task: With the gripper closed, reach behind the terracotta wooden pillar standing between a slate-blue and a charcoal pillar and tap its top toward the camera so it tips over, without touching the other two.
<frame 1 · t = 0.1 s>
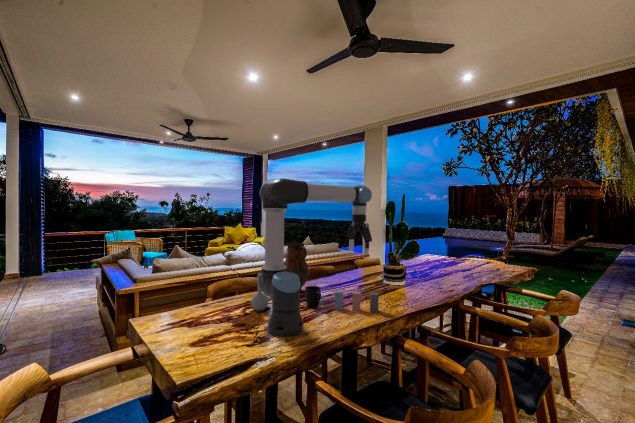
hand: (358, 252, 163), 28 cm above the table, fingers open, 13 cm apart
potion bottle: (259, 308, 152), on the table
mug: (314, 307, 156), on the table
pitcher: (296, 292, 180), on the table
charcoal block: (374, 311, 151), on the table
slate block: (338, 308, 154), on the table
terracotta block: (356, 309, 152), on the table
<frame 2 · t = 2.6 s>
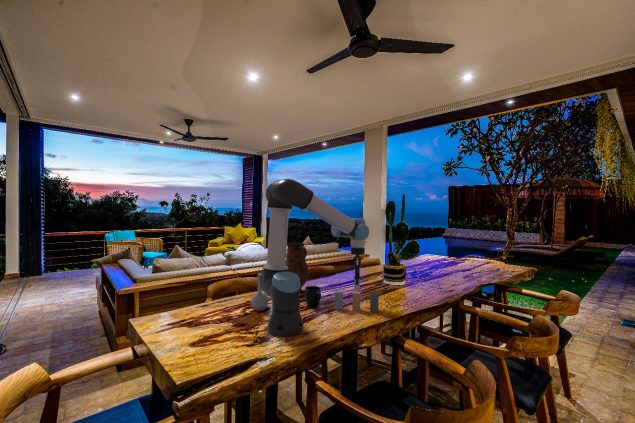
hand: (356, 290, 161), 8 cm above the table, fingers closed
nothing on the table moved.
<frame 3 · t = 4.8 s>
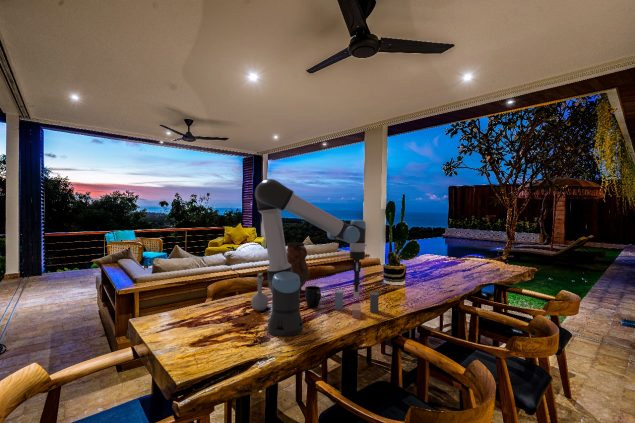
hand: (356, 297, 149), 7 cm above the table, fingers closed
terracotta block: (356, 307, 150), point 2 cm above the table, tilted 90°
everything else where it was.
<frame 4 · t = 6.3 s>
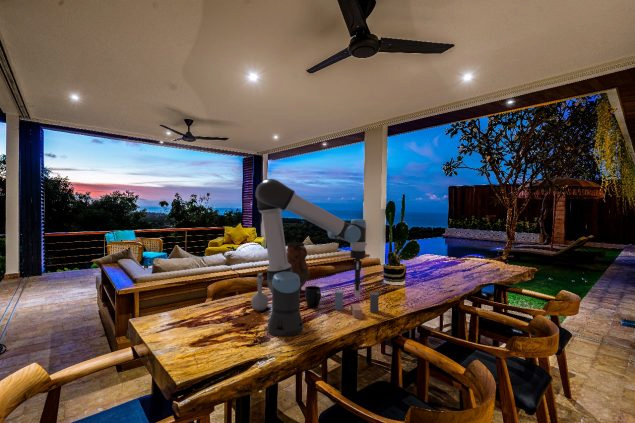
hand: (357, 296, 150), 8 cm above the table, fingers closed
nothing on the table moved.
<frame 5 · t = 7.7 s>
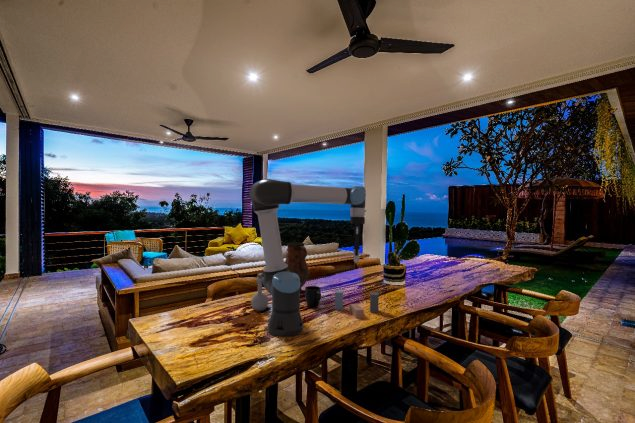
hand: (356, 261, 154), 24 cm above the table, fingers closed
nothing on the table moved.
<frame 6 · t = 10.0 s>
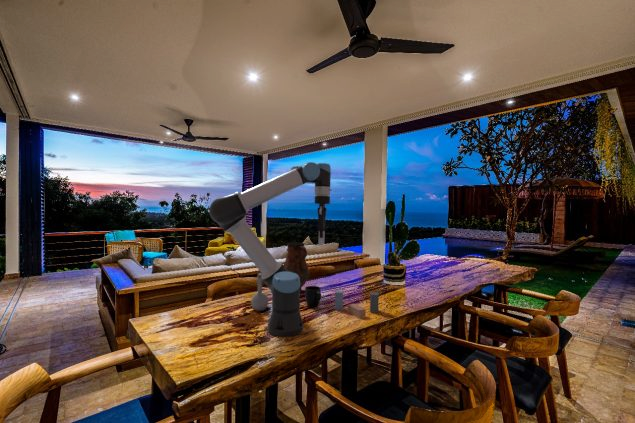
hand: (321, 244, 144), 34 cm above the table, fingers closed
terracotta block: (350, 308, 150), point 2 cm above the table, tilted 90°
everything else where it was.
at the end: terracotta block tilted 90°; slate block moved 0.0 cm from its start; charcoal block moved 0.0 cm from its start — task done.
